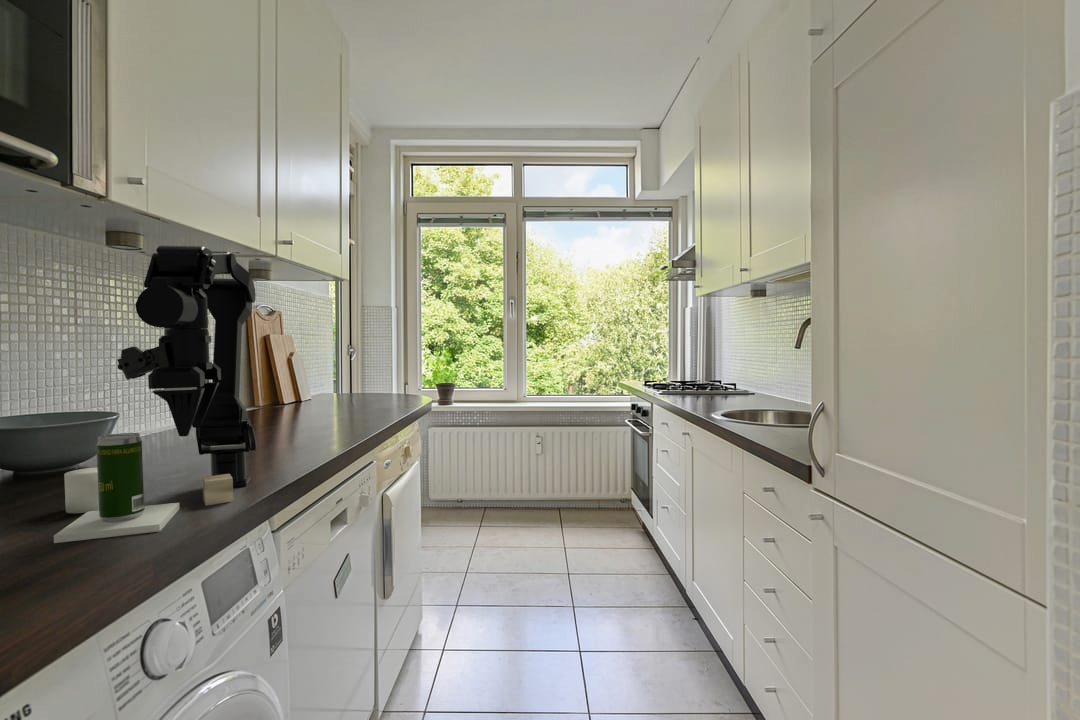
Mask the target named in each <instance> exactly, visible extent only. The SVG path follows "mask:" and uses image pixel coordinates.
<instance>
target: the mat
mask: <svg viewBox="0 0 1080 720" xmlns="http://www.w3.org/2000/svg"><path fill="white" fill-rule="evenodd" d="M180 506H181V505H180V502H172V503H170V502H169V503H161V504H152V505H151V504H150V505H144V512H143V514H142V515H141V516H140V517H137V518H134V519H131V520H126V521H120V522H103V521H102V520H101V518H100V517H99V510H98V511H88V512H86V513H84V514H82V515H81V516H79V518H77V519H75V520H74V521H73V522H71V523H70V524H68V525H67V526H65V527H64V528H62V529H61V530H60V531H58V532H56V534H54V535H53V544H58V543H59V544H60V543H68V542H75V541H76V542H77V541H86V540H93V539H104V538H111V537H123V536H131V535H139V534H147V533H149V534H150V533H155V532H156V533H158V532H161V531H162V530H163V528H165V526H166V525H167V524H168V523H169V521H170V520H171V519H172V518H173V517H174V516H175V514H176V513H177V512H178V511H179V510H180Z"/></svg>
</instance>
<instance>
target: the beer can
mask: <svg viewBox="0 0 1080 720" xmlns="http://www.w3.org/2000/svg"><path fill="white" fill-rule="evenodd" d="M140 434H141V433H139V432H122V433H112V434H105V435H101V436H98V437H97V443H96V446H95V447H96V467H97V473H98V497H99V517H100V518H101V520H102V521H103V522H120V521H126V520H131V519H134V518H137V517H140V516H141V515H142V514H143V512H144V506H145V492H144V491H145V489H144V484H145V483H144V465H143V463H144V462H143V459H144V458H143V441H142V440H143V439H142V438H141V435H140Z"/></svg>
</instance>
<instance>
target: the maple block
mask: <svg viewBox="0 0 1080 720" xmlns="http://www.w3.org/2000/svg"><path fill="white" fill-rule="evenodd" d="M202 495H203V497H202V498H203V499H202V500H203V503H204V505H205V506H213V505H217V504H224V503H231V502H234V487H233V478H232V476H231V475H230V474H224V475H216V476H211V475H210V476H209V475H208V476H203V477H202Z"/></svg>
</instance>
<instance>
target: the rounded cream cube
mask: <svg viewBox="0 0 1080 720" xmlns="http://www.w3.org/2000/svg"><path fill="white" fill-rule="evenodd" d="M63 475H64V476H63V477H64V497H65V499H64V500H65V503H64V504H65V512H66V513H67V514H83V513H84V514H85V513H87V512H88V511H98V510H99V497H98V473H97V466H96V467H88V468H87V467H86V468H80V469H75V470H71V471H67V472H65V473H64V474H63Z"/></svg>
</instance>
